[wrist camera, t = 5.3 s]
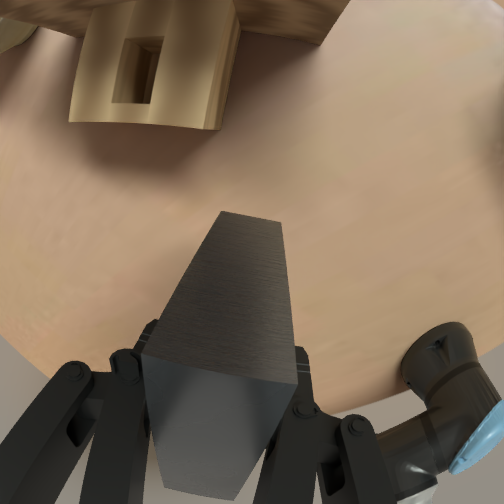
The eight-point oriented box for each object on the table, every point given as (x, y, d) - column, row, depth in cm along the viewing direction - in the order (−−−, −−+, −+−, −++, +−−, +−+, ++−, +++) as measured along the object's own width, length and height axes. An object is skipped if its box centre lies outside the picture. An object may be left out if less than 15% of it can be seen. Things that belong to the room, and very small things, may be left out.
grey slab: (277, 196, 20) (298, 384, 5) (253, 304, 23) (233, 500, 8) (235, 188, 20) (141, 353, 5) (217, 297, 23) (164, 487, 8)
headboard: (324, 24, 23) (382, -72, 5) (300, 145, 30) (351, 164, 11) (81, 19, 23) (-20, -14, 4) (60, 121, 29) (-58, 140, 11)
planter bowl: (42, 58, 25) (-9, 52, 15) (-9, 68, 24) (-52, 69, 14) (77, -29, 18) (38, -50, 8) (18, -8, 17) (-19, -18, 7)
